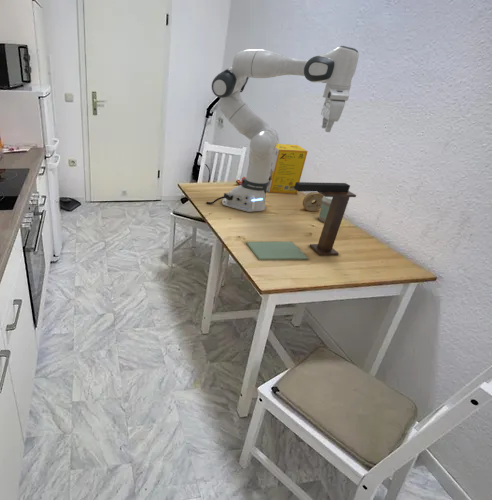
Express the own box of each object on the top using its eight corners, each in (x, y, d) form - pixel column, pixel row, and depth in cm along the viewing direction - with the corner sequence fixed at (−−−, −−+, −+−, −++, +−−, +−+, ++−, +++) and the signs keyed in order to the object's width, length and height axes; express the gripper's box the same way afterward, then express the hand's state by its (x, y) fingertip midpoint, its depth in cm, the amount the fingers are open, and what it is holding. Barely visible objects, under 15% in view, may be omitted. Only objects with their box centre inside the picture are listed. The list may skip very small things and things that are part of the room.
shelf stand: (306, 256, 143) (325, 194, 131) (294, 245, 152) (311, 185, 140) (339, 256, 145) (361, 195, 133) (325, 245, 154) (345, 186, 142)
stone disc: (319, 209, 191) (324, 191, 187) (321, 212, 188) (327, 194, 183) (299, 208, 191) (304, 190, 187) (302, 211, 188) (307, 192, 183)
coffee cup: (336, 224, 174) (344, 201, 168) (318, 222, 175) (325, 199, 170) (332, 218, 181) (339, 195, 176) (314, 216, 183) (321, 193, 177)
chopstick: (246, 193, 208) (246, 192, 207) (236, 181, 229) (236, 179, 228) (249, 194, 208) (249, 192, 207) (239, 181, 229) (239, 179, 228)
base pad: (259, 260, 139) (259, 258, 139) (246, 243, 151) (246, 241, 151) (307, 259, 142) (308, 257, 141) (290, 243, 154) (291, 241, 153)
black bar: (298, 191, 133) (299, 184, 132) (294, 188, 136) (295, 182, 135) (348, 191, 135) (350, 185, 134) (343, 189, 138) (345, 182, 137)
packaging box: (261, 183, 227) (270, 143, 215) (287, 185, 227) (297, 144, 215) (268, 192, 213) (278, 149, 201) (296, 193, 212) (307, 151, 201)
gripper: (323, 91, 151) (313, 125, 158) (331, 94, 134) (321, 133, 141) (339, 92, 150) (329, 126, 157) (350, 96, 133) (338, 134, 139)
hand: (325, 129), depth 148 cm, fingers open, 8 cm apart
